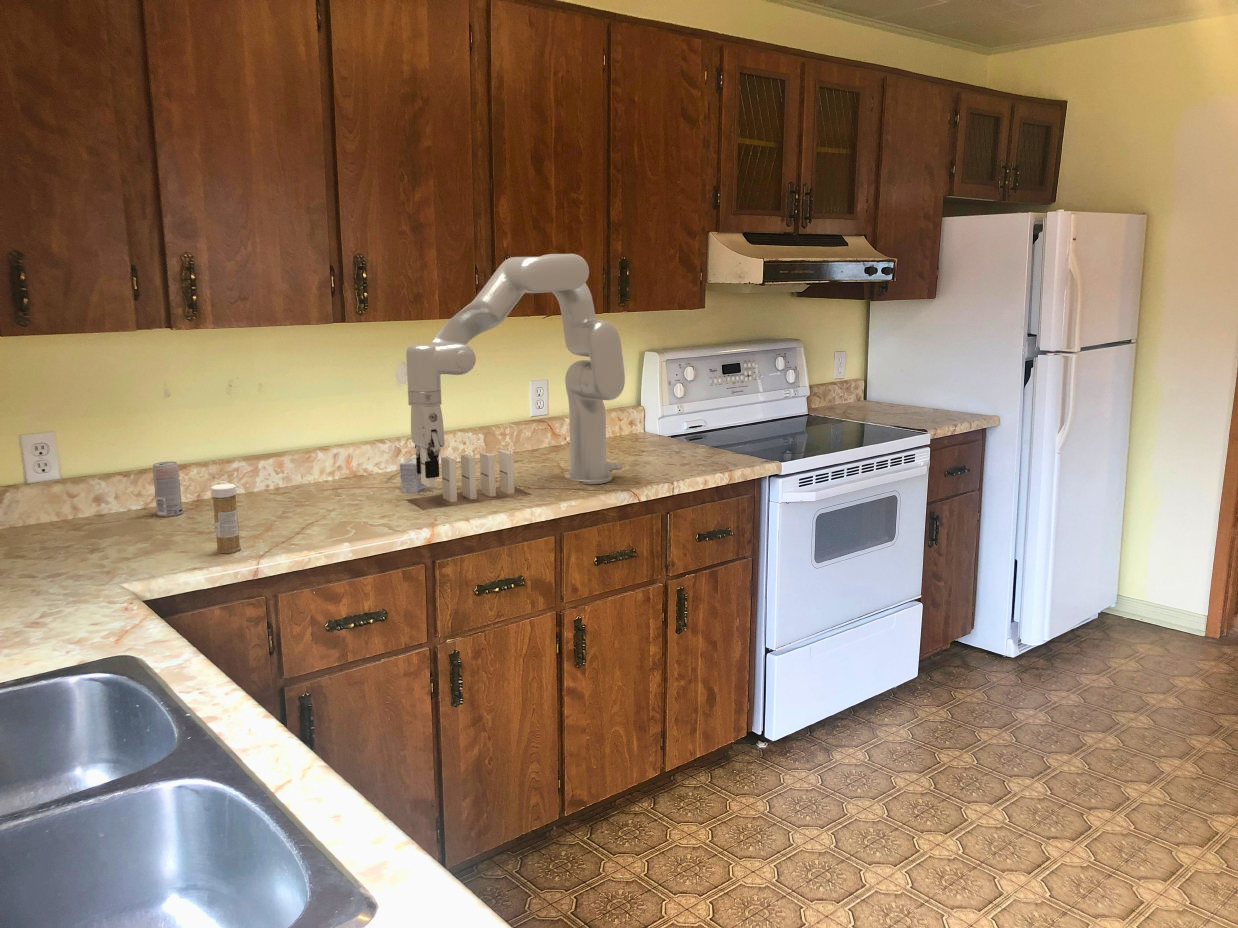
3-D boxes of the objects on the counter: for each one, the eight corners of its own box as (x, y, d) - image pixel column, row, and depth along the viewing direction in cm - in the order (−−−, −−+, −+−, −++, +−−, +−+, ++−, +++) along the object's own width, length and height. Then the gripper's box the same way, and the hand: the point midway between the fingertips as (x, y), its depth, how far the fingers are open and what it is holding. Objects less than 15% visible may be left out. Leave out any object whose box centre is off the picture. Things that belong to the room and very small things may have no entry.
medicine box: (418, 498, 237) (416, 463, 235) (401, 497, 238) (399, 463, 236) (430, 491, 245) (429, 457, 243) (414, 490, 245) (412, 457, 244)
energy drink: (177, 510, 227) (172, 460, 224) (186, 514, 223) (181, 463, 221) (153, 514, 223) (148, 463, 221) (162, 518, 219) (157, 467, 217)
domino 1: (428, 482, 229) (426, 440, 227) (435, 486, 225) (434, 443, 223) (420, 483, 228) (419, 441, 226) (428, 486, 224) (426, 444, 222)
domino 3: (468, 494, 235) (467, 454, 233) (477, 498, 231) (475, 457, 229) (461, 495, 234) (460, 454, 232) (470, 499, 230) (468, 458, 228)
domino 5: (506, 489, 240) (504, 449, 238) (514, 493, 236) (513, 452, 234) (499, 490, 239) (498, 450, 237) (508, 493, 235) (506, 453, 233)
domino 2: (449, 497, 233) (447, 456, 231) (457, 501, 228) (455, 459, 226) (442, 497, 232) (440, 457, 230) (450, 502, 227) (448, 460, 225)
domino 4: (487, 491, 238) (486, 451, 236) (496, 495, 234) (494, 455, 232) (480, 492, 237) (479, 452, 235) (489, 496, 233) (487, 455, 231)
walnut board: (511, 489, 245) (511, 485, 245) (532, 498, 235) (532, 494, 235) (405, 504, 231) (405, 499, 230) (423, 514, 221) (422, 509, 220)
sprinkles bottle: (218, 548, 195) (212, 483, 192) (242, 546, 196) (236, 482, 194) (215, 555, 191) (209, 488, 188) (239, 553, 192) (234, 487, 189)
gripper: (454, 401, 217) (456, 480, 221) (427, 393, 232) (430, 467, 235) (422, 403, 213) (425, 483, 217) (396, 395, 228) (400, 470, 231)
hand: (427, 474), depth 226 cm, fingers closed on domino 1, 4 cm apart
